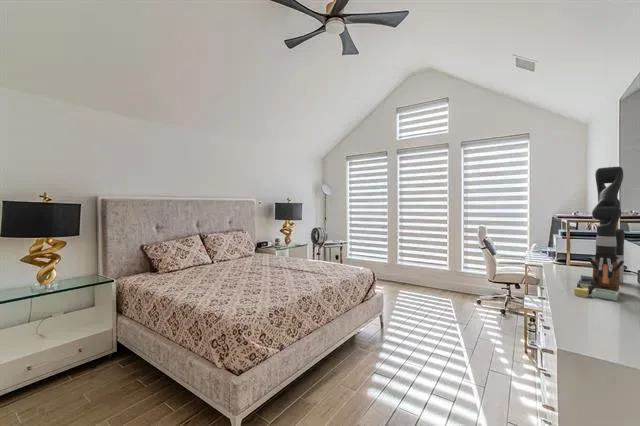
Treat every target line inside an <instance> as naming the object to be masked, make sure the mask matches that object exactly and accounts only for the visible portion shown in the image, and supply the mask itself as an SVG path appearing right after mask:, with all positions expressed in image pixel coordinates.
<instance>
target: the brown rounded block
mask: <svg viewBox="0 0 640 426" xmlns="http://www.w3.org/2000/svg"><path fill="white" fill-rule="evenodd" d="M617 258H618V259H619V257H618V256H617ZM594 262H595V263H596V265H597V266H598V267H599V262H598V261H597V260H596V258H595V261H594ZM617 265H618V263H617V260H616V261H615V262H614V263H613V264H612V266H613V268H615V267H616V266H617ZM592 277H593V283H594V289H595V288H598V289H605V290H611V291H617V292H620V291H619V290H620V284H621V283H620V268H619V269H618V270H617V271H613V277H612V278H611V279H609V284H606V283H602V278H601V277H600V276H599V270H598V269H595V268H594V267H593V266H592Z"/></svg>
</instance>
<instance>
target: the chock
mask: <svg viewBox="0 0 640 426" xmlns="http://www.w3.org/2000/svg"><path fill="white" fill-rule="evenodd" d="M573 291H574V292H573V293H574V296H579V297H582V298H583V297H584V298H587V297H589V294H590V293H589V289H588V288H577V286H576V287H574V290H573Z"/></svg>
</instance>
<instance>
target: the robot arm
mask: <svg viewBox="0 0 640 426" xmlns="http://www.w3.org/2000/svg"><path fill="white" fill-rule="evenodd" d="M623 179H624V170H623V167H621V166H608V167H599V168H596V170H595V183H596V190H597V191H596V192H597V204H596V205H595V206H594V208H593V209H592V212H591V216H592V218H593V219H595V220H596V221H598V222H599V224H598V225H597V226H596V239H595V255H594V256H590V257H588V258H587V259H588V261H589V262H590V264H591V265H592V268H593V267H594V268H595V269H598V270H599V276H600V277H601V278H602V274H603V271H602V267H603V264H608V267H609V271H608V278H609V279H611V278H612V277H613V271H617V270H618V269H619V268H620V284H624V268H625V266H624V264H625V260H624V259H625V258H624V257H625V255H624V253H625V252H624V248H625V247H624V245H625V236H626V235H625V231H624V229H622V228H617V226H618V224H619V223H618V222H619V220H620V218H621V215H622V210H621V201H620V200H619V197H618V196H619V191H620V189H621V186H622V183H623V181H624V180H623ZM606 184H609V185H608V186H606ZM617 256H618V257H619V259H618V258H617ZM595 258H596V260H597V261H598V262H599V267H598V266H597V265H596V263H595V262H594V261H595ZM616 260H617V263H618V265H617V266H616V267H615V268H613V266H612V264H613V263H614V262H615V261H616Z"/></svg>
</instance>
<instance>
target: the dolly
mask: <svg viewBox="0 0 640 426" xmlns="http://www.w3.org/2000/svg"><path fill="white" fill-rule="evenodd" d="M576 287H577V288H583V289H589V294H592V291H593V290H594V283H593V276H589V275H583V274H581V275H580V279H579V280H578V281H577V283H576Z"/></svg>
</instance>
